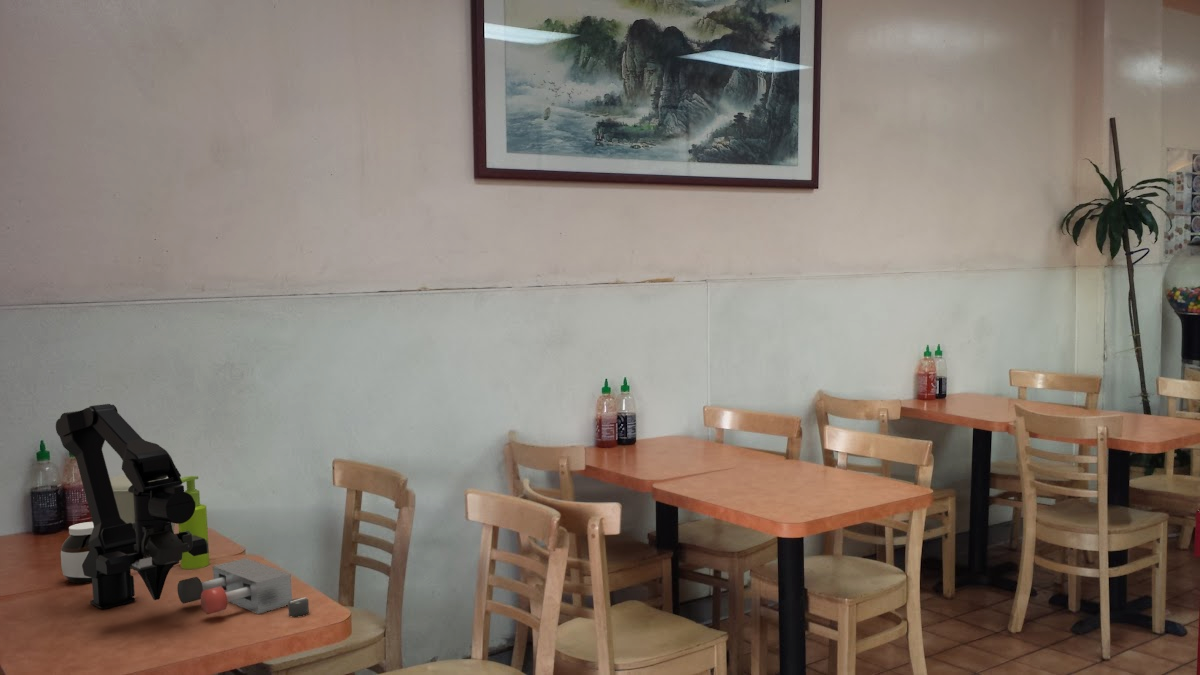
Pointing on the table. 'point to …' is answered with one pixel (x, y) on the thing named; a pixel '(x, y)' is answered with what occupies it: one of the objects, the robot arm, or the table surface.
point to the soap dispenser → (195, 527)
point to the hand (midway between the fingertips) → (156, 599)
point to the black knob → (196, 588)
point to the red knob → (221, 598)
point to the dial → (298, 607)
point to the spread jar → (76, 552)
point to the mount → (256, 584)
